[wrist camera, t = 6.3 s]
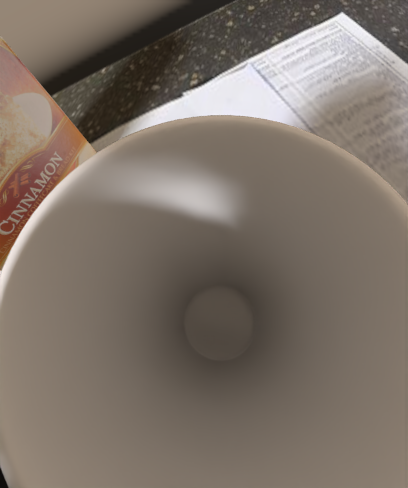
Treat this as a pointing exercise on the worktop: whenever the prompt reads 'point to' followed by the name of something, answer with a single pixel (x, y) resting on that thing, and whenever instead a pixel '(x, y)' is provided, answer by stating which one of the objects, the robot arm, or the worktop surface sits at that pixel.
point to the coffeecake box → (30, 147)
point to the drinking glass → (209, 317)
